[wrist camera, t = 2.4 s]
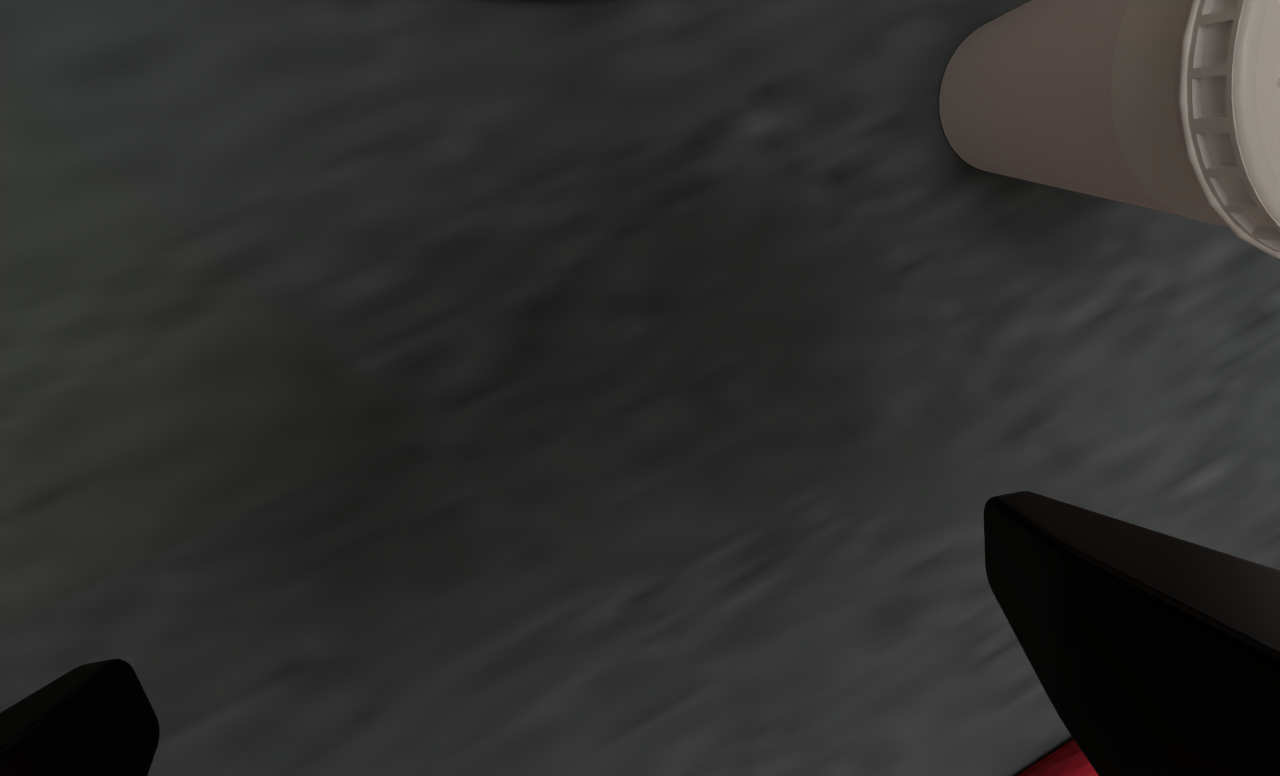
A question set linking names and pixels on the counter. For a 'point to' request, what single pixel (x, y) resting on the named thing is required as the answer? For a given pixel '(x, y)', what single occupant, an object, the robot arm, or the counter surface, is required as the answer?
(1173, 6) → the smoothie
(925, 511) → the counter surface
